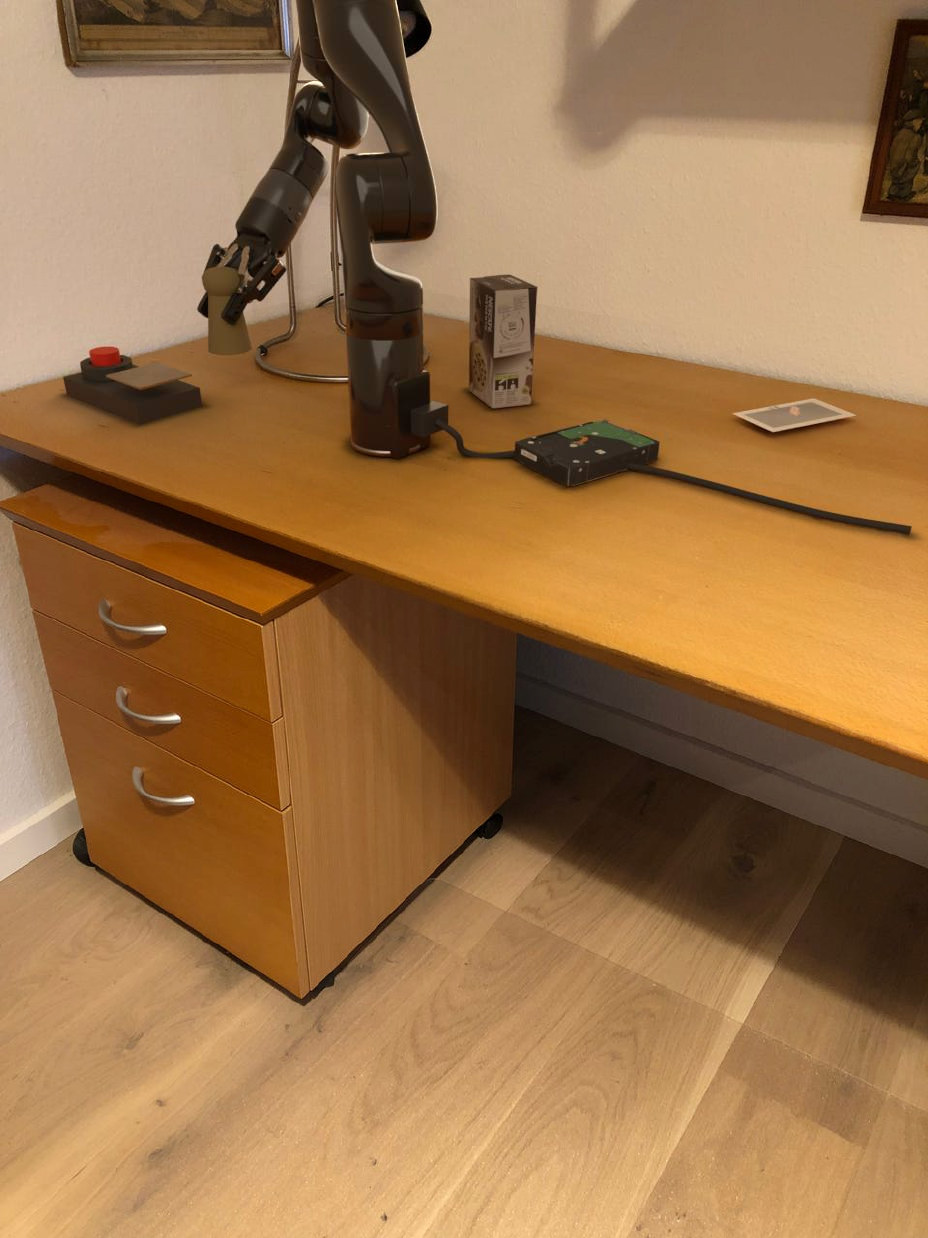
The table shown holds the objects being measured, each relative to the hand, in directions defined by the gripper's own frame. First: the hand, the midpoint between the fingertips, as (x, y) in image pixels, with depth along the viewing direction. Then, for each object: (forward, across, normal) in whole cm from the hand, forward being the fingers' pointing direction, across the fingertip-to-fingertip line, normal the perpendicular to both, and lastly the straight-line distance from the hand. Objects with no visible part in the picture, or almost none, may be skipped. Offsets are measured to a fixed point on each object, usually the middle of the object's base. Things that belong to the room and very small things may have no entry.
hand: (215, 317), depth 129 cm
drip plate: (+12, -2, -3) cm, 12 cm away
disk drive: (-2, +53, +18) cm, 56 cm away
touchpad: (-23, +66, +40) cm, 80 cm away
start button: (+12, -13, -3) cm, 18 cm away
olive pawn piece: (+2, 0, +5) cm, 5 cm away
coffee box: (-10, +30, +26) cm, 41 cm away
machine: (+15, -7, 0) cm, 17 cm away
